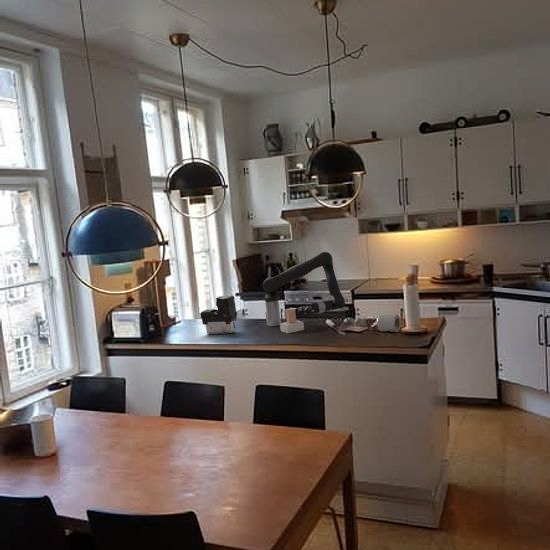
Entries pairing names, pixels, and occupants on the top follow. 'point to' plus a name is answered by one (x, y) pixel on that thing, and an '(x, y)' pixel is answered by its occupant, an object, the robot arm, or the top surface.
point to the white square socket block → (292, 326)
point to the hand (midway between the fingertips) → (295, 311)
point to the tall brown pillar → (290, 315)
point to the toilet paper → (389, 323)
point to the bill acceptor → (220, 316)
